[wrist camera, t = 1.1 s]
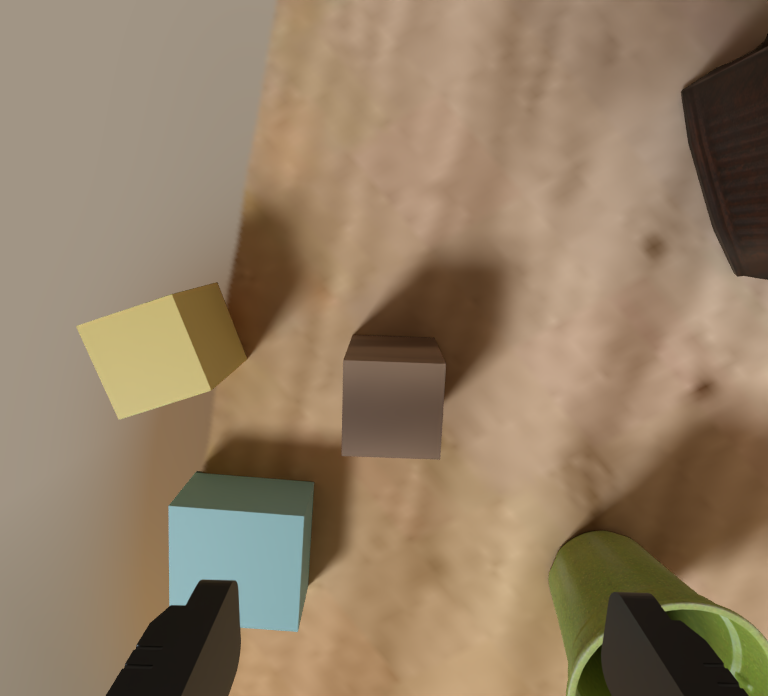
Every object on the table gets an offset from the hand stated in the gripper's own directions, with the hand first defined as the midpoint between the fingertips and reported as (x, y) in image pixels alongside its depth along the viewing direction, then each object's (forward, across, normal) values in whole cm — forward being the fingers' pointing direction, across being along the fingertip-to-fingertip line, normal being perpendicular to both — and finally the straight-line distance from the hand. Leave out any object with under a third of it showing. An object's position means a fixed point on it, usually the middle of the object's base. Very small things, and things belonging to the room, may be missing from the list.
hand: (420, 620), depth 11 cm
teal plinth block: (+18, +9, +10) cm, 22 cm away
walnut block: (+18, 0, 0) cm, 18 cm away
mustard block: (+18, +12, -2) cm, 22 cm away
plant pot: (+18, -12, +12) cm, 25 cm away
